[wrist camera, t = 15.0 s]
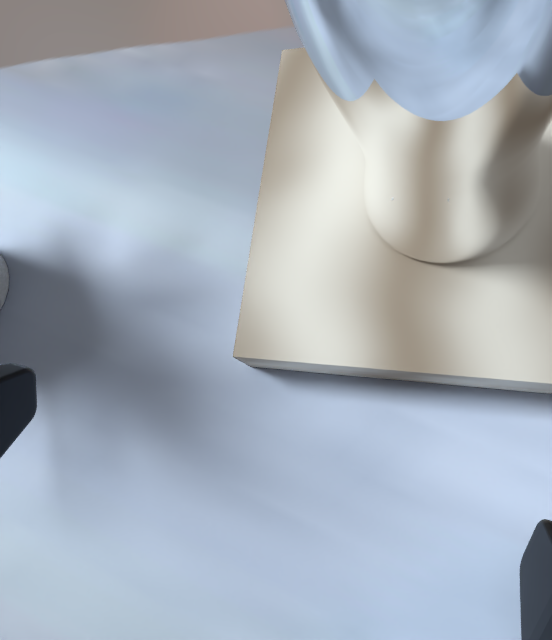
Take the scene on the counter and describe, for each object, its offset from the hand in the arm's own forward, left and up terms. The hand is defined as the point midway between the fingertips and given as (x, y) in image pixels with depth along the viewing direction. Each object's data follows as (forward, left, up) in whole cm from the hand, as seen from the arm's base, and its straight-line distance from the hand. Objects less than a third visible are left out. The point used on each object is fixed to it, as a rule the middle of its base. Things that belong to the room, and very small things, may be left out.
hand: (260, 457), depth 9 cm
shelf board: (+7, -8, -12) cm, 16 cm away
